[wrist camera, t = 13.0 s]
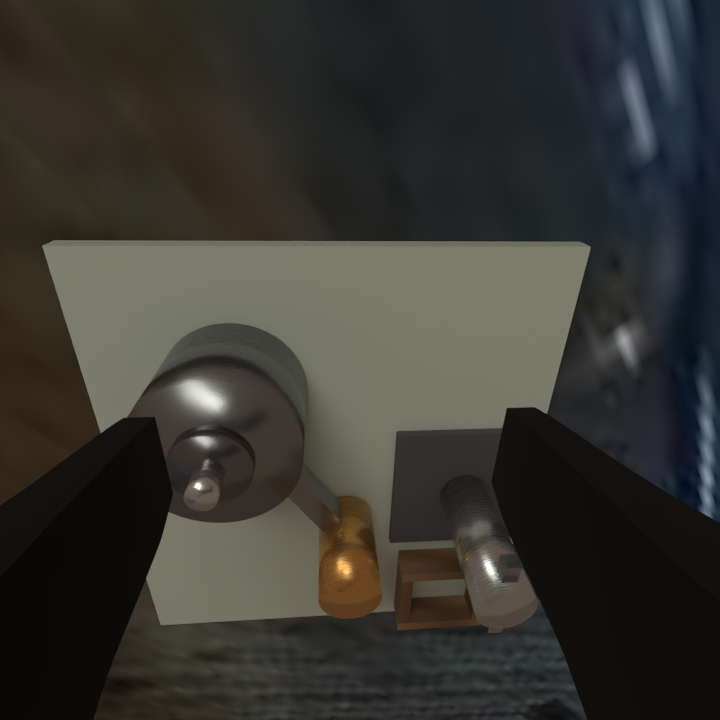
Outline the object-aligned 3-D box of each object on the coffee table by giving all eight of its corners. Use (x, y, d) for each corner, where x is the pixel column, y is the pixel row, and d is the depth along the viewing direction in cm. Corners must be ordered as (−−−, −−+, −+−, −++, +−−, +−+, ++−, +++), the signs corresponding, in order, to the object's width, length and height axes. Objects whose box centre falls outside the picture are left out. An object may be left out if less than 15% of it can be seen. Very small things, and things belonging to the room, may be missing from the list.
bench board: (165, 611, 27) (160, 625, 26) (54, 240, 16) (42, 246, 16) (492, 593, 28) (496, 605, 28) (580, 241, 18) (590, 246, 17)
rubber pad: (388, 536, 24) (389, 543, 24) (396, 431, 21) (397, 436, 20) (516, 530, 25) (519, 536, 24) (543, 426, 21) (547, 431, 21)
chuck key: (435, 522, 23) (467, 642, 18) (444, 463, 21) (484, 576, 16) (480, 521, 23) (526, 638, 18) (493, 461, 22) (549, 573, 16)
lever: (259, 462, 20) (245, 543, 16) (307, 435, 20) (303, 512, 16) (337, 541, 23) (341, 626, 19) (381, 519, 23) (393, 602, 19)
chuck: (175, 446, 20) (120, 570, 15) (148, 323, 17) (67, 420, 12) (309, 442, 21) (305, 561, 15) (304, 321, 18) (297, 414, 12)
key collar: (393, 605, 27) (397, 630, 26) (398, 550, 25) (403, 574, 23) (472, 600, 27) (480, 624, 26) (484, 546, 25) (493, 570, 24)
